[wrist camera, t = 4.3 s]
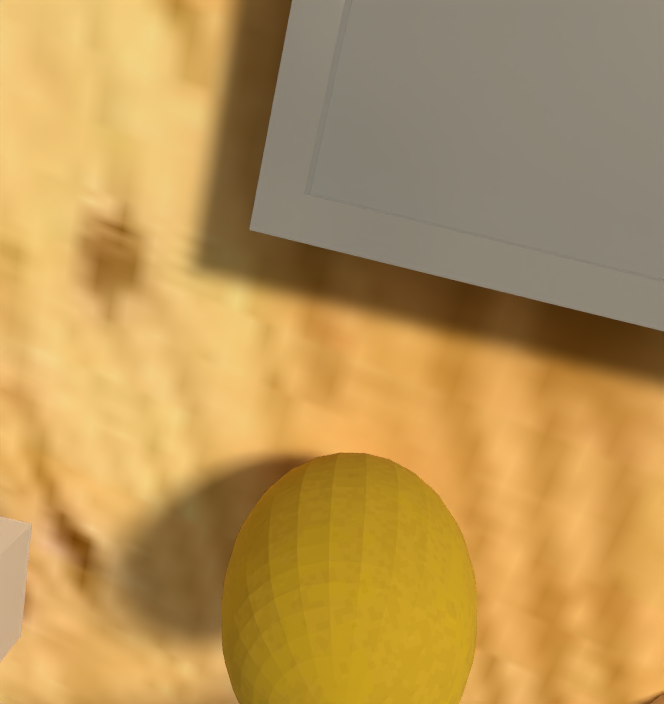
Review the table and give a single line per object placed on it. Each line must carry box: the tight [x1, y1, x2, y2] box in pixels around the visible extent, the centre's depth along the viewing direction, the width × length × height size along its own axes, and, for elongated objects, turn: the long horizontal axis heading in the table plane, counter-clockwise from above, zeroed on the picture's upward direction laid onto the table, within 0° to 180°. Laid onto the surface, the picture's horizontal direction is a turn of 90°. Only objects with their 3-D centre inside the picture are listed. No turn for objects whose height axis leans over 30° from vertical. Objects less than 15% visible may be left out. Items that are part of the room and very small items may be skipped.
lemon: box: [222, 453, 477, 704], centre depth 13 cm, size 6×6×8 cm
